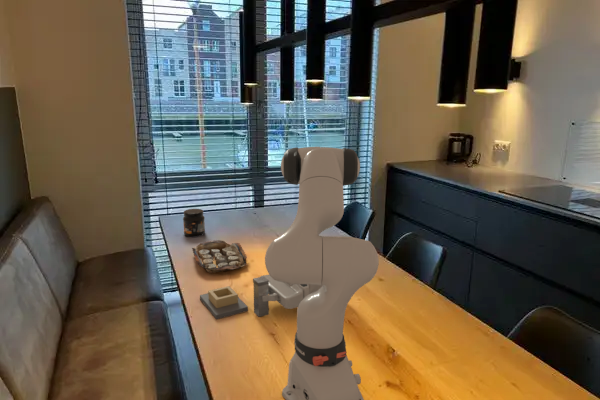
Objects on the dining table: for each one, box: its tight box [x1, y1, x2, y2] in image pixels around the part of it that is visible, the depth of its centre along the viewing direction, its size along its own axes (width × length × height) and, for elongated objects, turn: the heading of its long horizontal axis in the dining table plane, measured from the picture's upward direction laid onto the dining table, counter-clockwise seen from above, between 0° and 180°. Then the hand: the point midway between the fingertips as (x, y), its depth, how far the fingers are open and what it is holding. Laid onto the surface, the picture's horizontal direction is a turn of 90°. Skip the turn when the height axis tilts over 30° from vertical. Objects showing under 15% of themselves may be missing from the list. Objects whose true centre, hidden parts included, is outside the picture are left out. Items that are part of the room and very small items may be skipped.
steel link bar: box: [252, 275, 270, 318], centre depth 141 cm, size 4×4×12 cm
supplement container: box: [182, 208, 206, 238], centre depth 218 cm, size 10×10×12 cm
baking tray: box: [191, 239, 248, 274], centre depth 183 cm, size 30×22×5 cm
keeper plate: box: [199, 285, 249, 320], centre depth 147 cm, size 16×11×4 cm
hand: (258, 295), depth 140 cm, fingers closed on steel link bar, 4 cm apart
